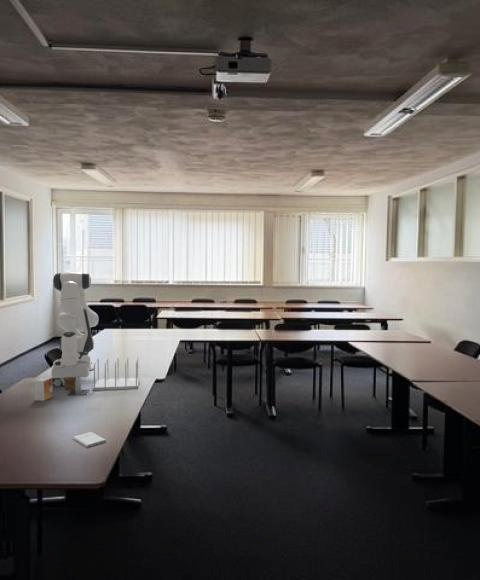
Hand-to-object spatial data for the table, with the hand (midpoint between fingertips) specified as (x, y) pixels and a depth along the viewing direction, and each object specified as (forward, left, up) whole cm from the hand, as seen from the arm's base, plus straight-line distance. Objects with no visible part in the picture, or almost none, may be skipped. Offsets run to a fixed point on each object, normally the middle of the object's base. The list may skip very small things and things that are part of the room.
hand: (70, 385), depth 268 cm
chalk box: (-10, -7, -2) cm, 12 cm away
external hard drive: (+79, +24, -3) cm, 82 cm away
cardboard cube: (0, 0, -2) cm, 2 cm away
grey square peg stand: (+9, +6, -2) cm, 11 cm away
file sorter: (-3, +25, -2) cm, 25 cm away
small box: (+17, -10, -2) cm, 20 cm away
